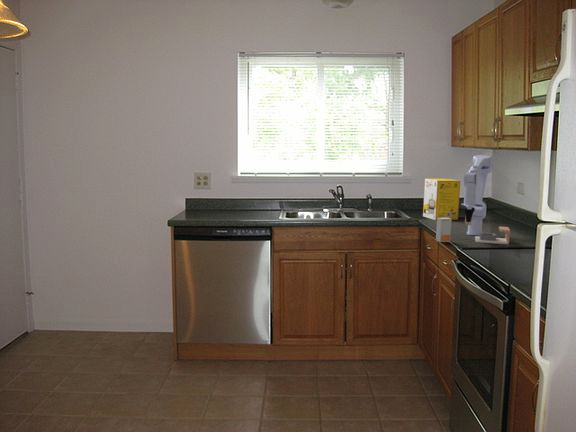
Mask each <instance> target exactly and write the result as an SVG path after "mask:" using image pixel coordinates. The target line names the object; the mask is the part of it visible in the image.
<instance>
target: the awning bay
mask: <svg viewBox="0 0 576 432" xmlns="http://www.w3.org/2000/svg"><path fill="white" fill-rule="evenodd" d="M498 230H499V231H500V233H505V237H503V238H502V237H497V234H496V233H494V232H493V233H490V232H482V233H480V235H479V236H478V235H474V240H475V243H486V244H498V245H510V236H511V229H510V228H509V227H508V226H498Z"/></svg>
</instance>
